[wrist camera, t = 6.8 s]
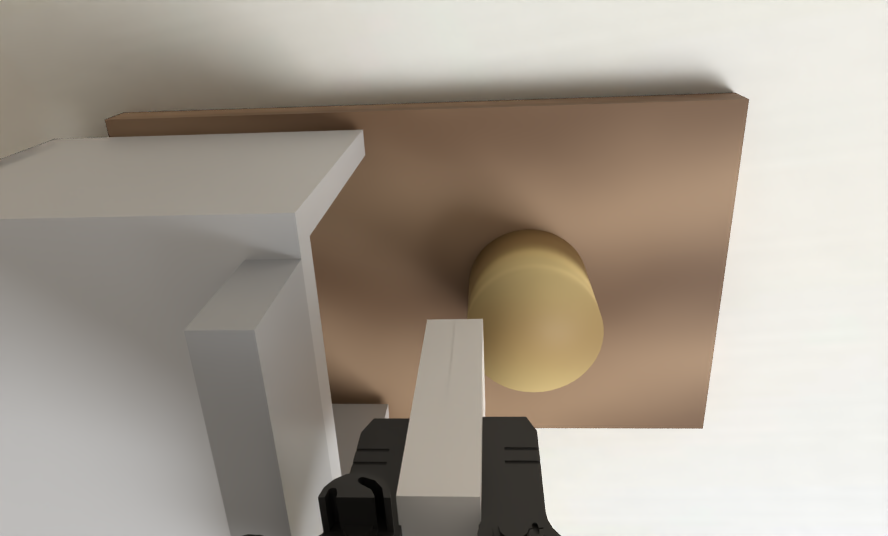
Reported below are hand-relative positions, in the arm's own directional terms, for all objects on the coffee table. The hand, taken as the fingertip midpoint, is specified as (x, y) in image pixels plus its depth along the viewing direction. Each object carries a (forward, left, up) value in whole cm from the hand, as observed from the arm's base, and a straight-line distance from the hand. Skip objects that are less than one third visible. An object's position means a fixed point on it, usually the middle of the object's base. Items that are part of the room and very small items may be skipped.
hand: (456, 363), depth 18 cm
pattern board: (0, -1, -6) cm, 7 cm away
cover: (0, -8, -5) cm, 9 cm away
